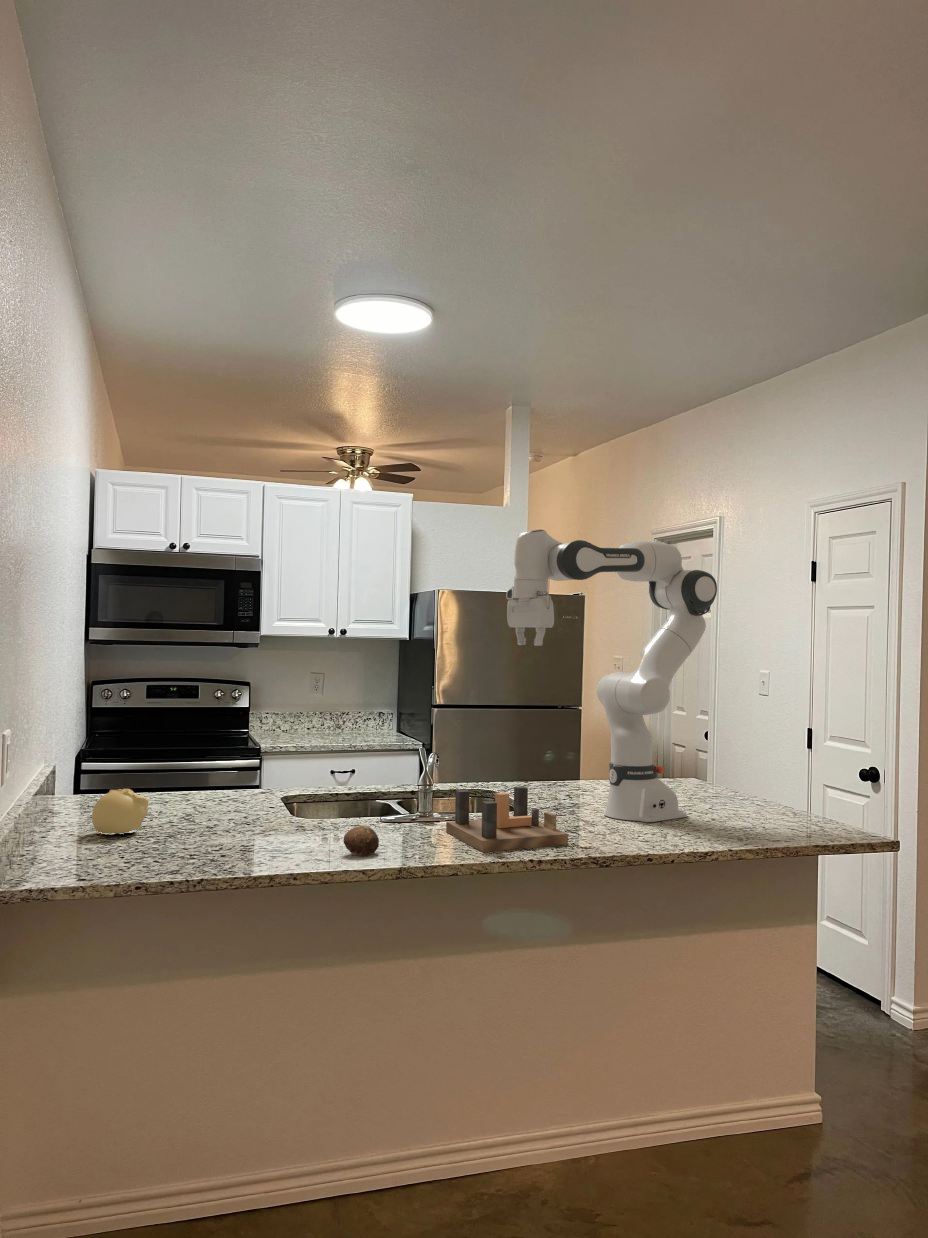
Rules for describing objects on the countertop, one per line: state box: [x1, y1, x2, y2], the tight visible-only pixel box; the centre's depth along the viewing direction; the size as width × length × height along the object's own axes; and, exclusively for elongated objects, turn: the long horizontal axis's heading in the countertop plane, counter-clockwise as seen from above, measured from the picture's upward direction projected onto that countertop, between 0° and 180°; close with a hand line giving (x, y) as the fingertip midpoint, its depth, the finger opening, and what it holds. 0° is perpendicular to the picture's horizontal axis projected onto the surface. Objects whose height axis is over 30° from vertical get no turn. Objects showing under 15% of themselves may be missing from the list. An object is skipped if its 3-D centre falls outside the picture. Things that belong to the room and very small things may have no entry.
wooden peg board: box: [445, 785, 569, 853], centre depth 225 cm, size 22×22×10 cm
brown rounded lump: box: [342, 825, 380, 857], centre depth 208 cm, size 8×8×6 cm
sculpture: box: [91, 788, 149, 833], centre depth 223 cm, size 12×12×11 cm
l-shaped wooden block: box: [494, 791, 532, 828], centre depth 225 cm, size 9×3×8 cm, turn 113°
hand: (529, 645), depth 241 cm, fingers open, 8 cm apart
